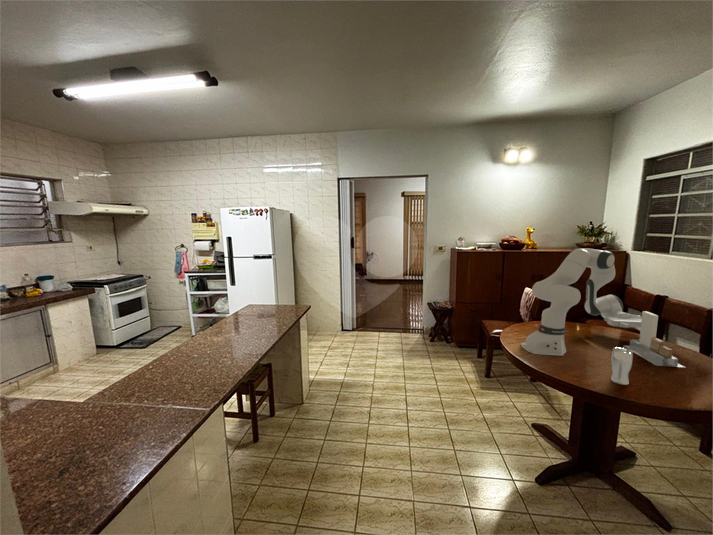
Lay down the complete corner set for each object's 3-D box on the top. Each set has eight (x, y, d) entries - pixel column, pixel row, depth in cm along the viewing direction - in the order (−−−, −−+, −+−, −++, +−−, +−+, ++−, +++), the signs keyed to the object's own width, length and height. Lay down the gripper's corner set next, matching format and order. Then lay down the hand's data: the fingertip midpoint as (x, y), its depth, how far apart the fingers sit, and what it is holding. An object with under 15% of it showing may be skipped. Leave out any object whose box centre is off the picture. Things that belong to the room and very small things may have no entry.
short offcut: (665, 364, 141) (667, 349, 140) (657, 360, 146) (659, 345, 145) (670, 365, 141) (672, 349, 140) (662, 360, 146) (664, 345, 145)
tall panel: (649, 355, 152) (653, 315, 149) (638, 349, 160) (642, 311, 157) (653, 355, 151) (658, 315, 149) (642, 349, 159) (647, 311, 156)
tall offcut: (657, 359, 147) (659, 341, 145) (649, 355, 151) (651, 337, 150) (661, 360, 146) (664, 341, 145) (654, 356, 151) (656, 338, 150)
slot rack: (655, 368, 141) (656, 357, 141) (622, 347, 165) (623, 338, 165) (685, 370, 138) (687, 359, 138) (647, 349, 162) (648, 340, 162)
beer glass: (633, 383, 128) (636, 351, 126) (624, 386, 126) (627, 354, 124) (615, 376, 135) (617, 346, 133) (606, 379, 132) (608, 348, 130)
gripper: (602, 313, 176) (616, 320, 163) (642, 315, 172) (660, 322, 158) (601, 323, 177) (615, 331, 164) (641, 325, 172) (659, 333, 159)
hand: (638, 327), depth 161 cm, fingers open, 8 cm apart
